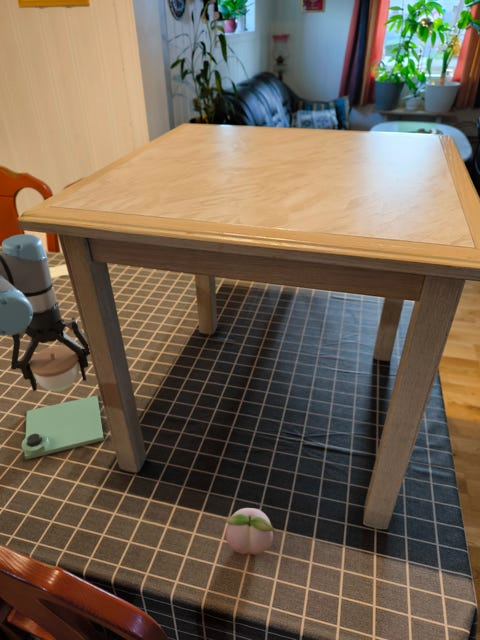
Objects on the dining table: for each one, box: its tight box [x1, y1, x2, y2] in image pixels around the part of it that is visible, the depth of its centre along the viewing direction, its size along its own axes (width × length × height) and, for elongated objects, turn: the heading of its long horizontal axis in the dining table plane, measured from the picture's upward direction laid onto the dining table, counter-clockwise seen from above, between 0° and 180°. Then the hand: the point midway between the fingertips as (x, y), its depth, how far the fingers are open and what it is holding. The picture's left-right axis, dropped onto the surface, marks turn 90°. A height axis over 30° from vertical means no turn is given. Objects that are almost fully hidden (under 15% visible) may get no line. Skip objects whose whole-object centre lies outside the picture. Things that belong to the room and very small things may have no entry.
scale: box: [21, 395, 105, 460], centre depth 113 cm, size 18×16×4 cm
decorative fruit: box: [224, 507, 275, 556], centre depth 86 cm, size 9×8×10 cm
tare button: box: [27, 434, 41, 447], centre depth 106 cm, size 3×3×2 cm
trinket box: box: [29, 345, 80, 393], centre depth 106 cm, size 11×11×9 cm
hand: (60, 382), depth 108 cm, fingers closed on trinket box, 11 cm apart
